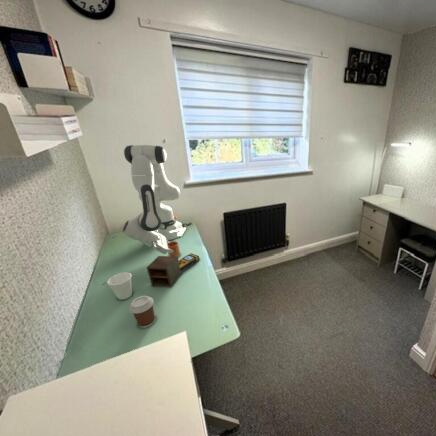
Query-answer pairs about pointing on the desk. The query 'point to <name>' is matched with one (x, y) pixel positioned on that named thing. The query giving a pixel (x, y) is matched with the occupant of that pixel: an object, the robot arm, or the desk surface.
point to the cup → (121, 285)
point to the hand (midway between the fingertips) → (172, 248)
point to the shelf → (164, 266)
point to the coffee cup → (143, 311)
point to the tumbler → (174, 247)
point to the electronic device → (187, 261)
